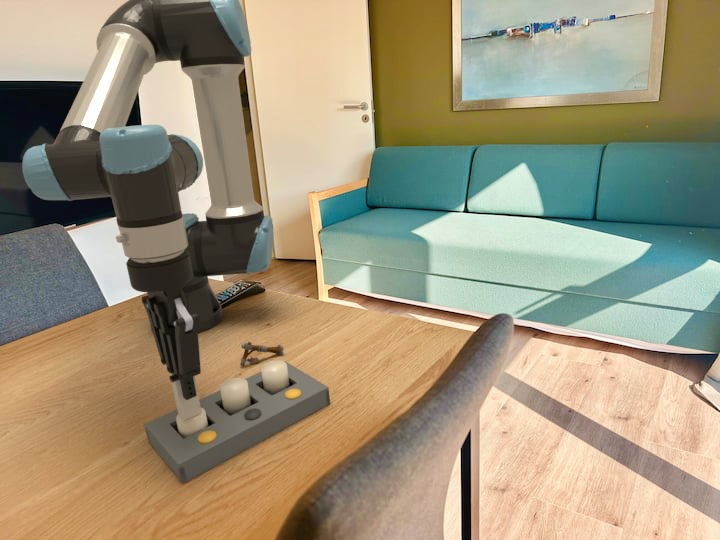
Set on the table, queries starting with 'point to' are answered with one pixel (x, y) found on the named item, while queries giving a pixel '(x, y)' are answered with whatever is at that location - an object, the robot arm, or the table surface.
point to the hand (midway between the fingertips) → (190, 414)
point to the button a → (192, 424)
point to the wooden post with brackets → (258, 348)
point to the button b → (235, 395)
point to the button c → (275, 376)
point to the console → (235, 424)
